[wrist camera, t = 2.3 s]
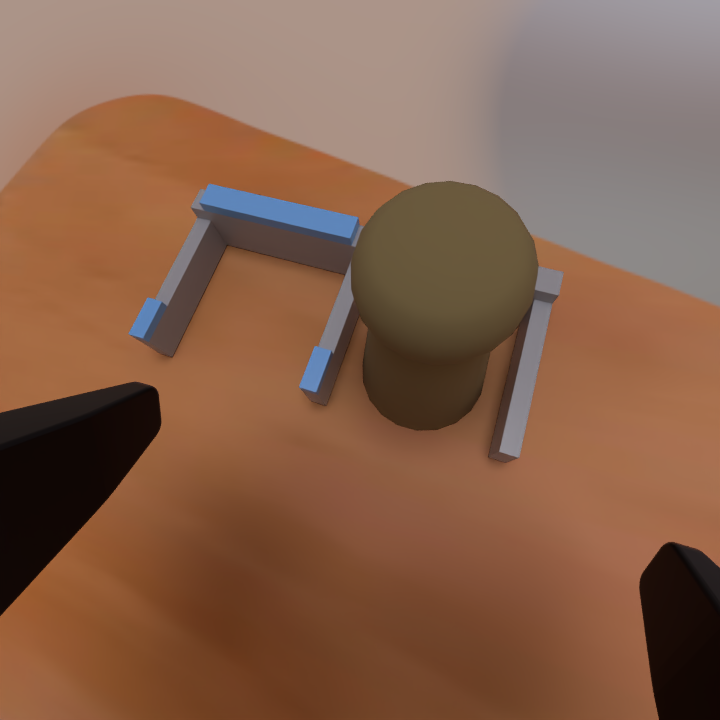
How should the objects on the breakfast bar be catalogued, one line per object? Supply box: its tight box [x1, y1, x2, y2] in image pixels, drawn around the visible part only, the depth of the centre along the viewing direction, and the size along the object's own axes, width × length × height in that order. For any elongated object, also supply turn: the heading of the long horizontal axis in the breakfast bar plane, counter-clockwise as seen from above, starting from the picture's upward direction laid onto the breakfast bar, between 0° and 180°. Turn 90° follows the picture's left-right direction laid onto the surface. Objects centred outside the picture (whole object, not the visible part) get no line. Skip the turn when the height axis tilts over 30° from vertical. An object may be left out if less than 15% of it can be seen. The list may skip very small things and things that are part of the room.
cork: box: [351, 181, 539, 430], centre depth 16 cm, size 6×6×11 cm
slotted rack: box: [129, 184, 564, 462], centre depth 20 cm, size 18×8×4 cm, turn 71°
